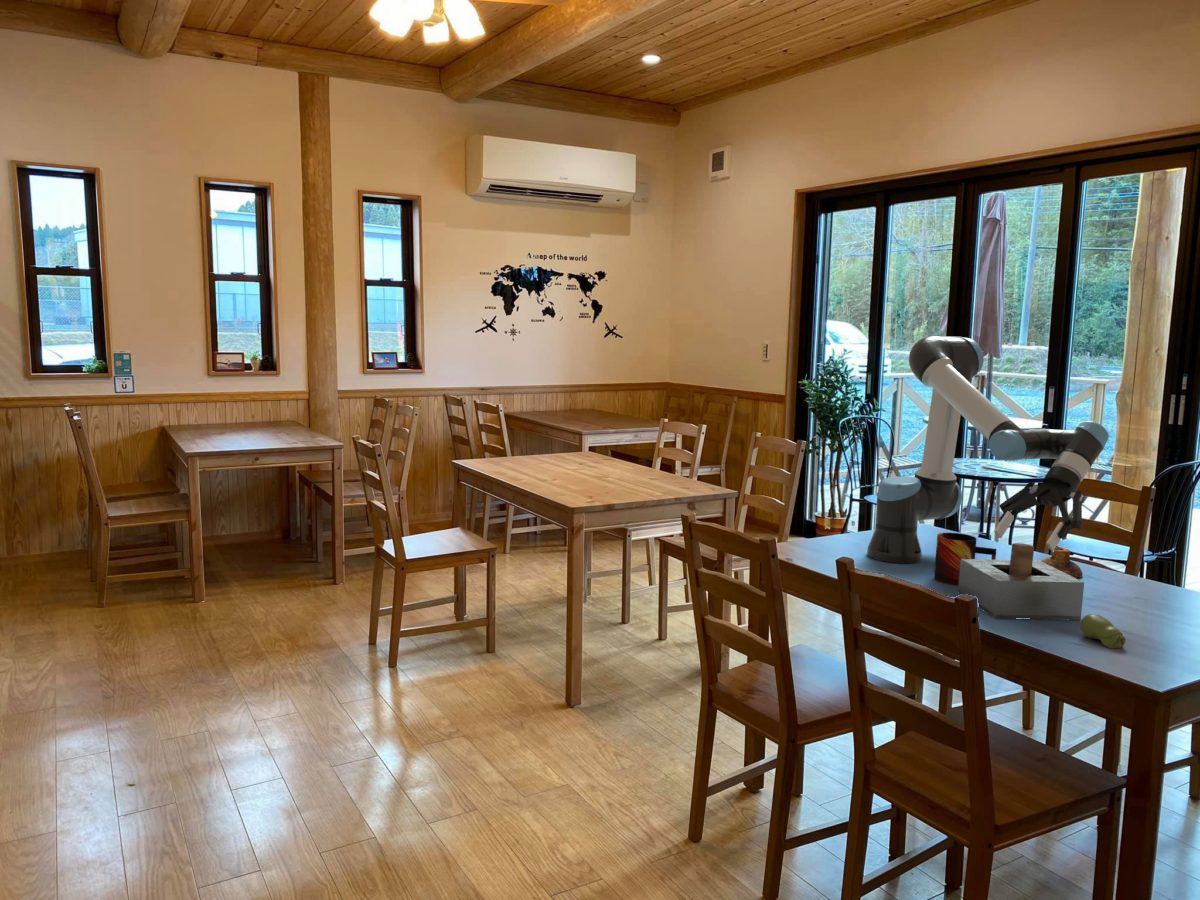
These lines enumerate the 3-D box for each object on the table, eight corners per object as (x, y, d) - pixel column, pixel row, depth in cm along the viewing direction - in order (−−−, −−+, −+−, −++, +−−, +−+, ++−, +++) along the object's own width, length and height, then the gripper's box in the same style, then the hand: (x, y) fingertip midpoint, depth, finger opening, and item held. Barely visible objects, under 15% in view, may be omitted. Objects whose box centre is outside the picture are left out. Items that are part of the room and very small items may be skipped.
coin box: (957, 593, 225) (960, 558, 223) (1035, 595, 225) (1039, 560, 224) (995, 618, 205) (998, 580, 204) (1080, 620, 205) (1084, 582, 204)
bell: (1072, 582, 240) (1075, 555, 239) (1027, 572, 249) (1029, 547, 248) (1089, 575, 248) (1091, 549, 247) (1044, 566, 257) (1047, 541, 256)
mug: (995, 586, 232) (998, 541, 231) (942, 585, 232) (945, 540, 231) (979, 576, 242) (982, 533, 240) (928, 575, 242) (931, 532, 240)
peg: (1002, 598, 217) (1008, 542, 215) (1021, 599, 217) (1027, 543, 215) (1012, 605, 212) (1018, 548, 210) (1031, 605, 213) (1038, 548, 211)
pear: (1098, 609, 195) (1135, 631, 186) (1092, 631, 197) (1128, 654, 188) (1077, 610, 194) (1113, 632, 185) (1071, 632, 195) (1107, 655, 186)
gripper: (1122, 493, 210) (1078, 562, 204) (1024, 477, 231) (983, 539, 225) (1111, 472, 206) (1067, 542, 201) (1014, 457, 227) (971, 520, 222)
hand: (1022, 540), depth 213 cm, fingers open, 13 cm apart
